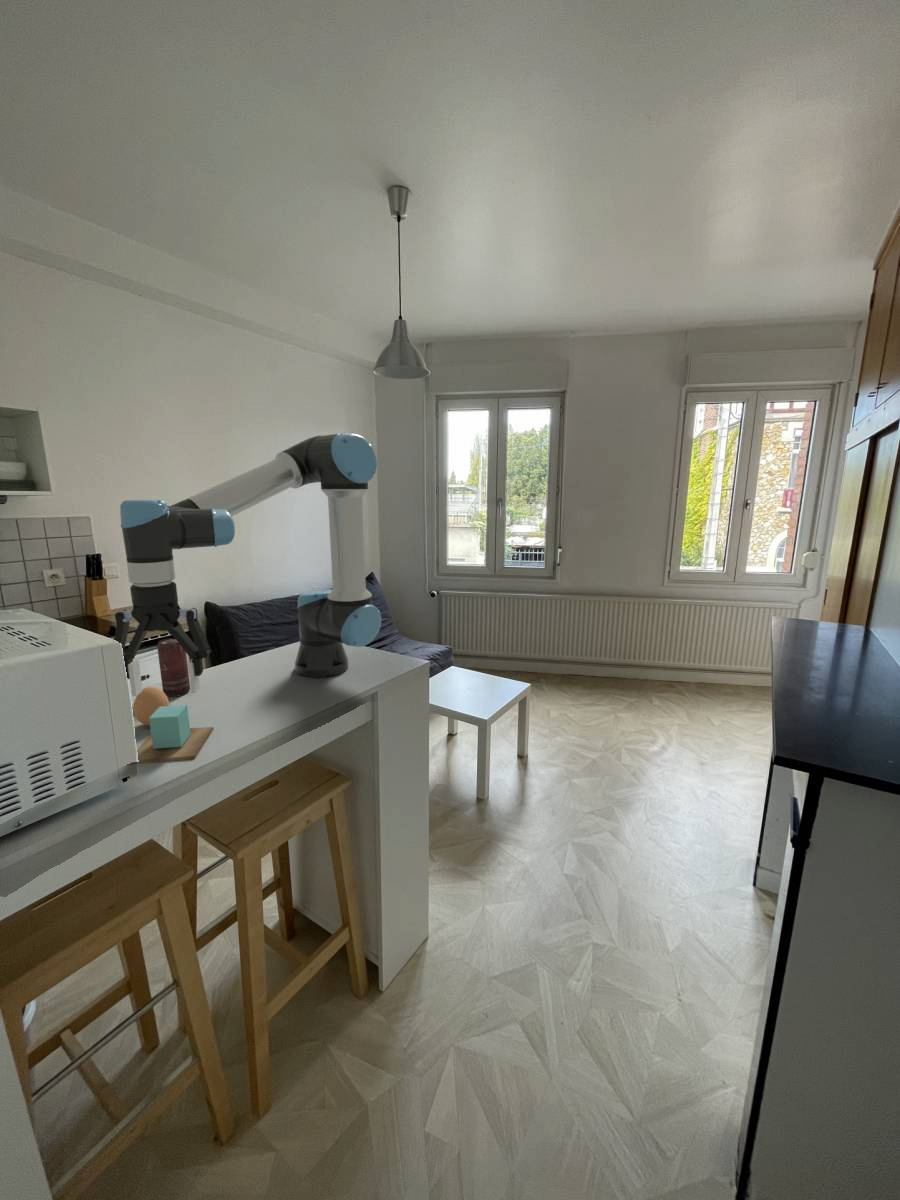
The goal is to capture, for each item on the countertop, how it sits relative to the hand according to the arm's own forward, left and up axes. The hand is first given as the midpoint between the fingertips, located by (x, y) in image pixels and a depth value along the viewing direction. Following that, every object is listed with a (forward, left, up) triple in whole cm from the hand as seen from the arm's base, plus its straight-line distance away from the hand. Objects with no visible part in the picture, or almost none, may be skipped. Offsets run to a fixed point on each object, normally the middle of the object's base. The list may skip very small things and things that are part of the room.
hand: (166, 692), depth 98 cm
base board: (0, 0, -12) cm, 12 cm away
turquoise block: (0, 0, -11) cm, 11 cm away
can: (+9, -28, -12) cm, 32 cm away
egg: (+8, -10, -12) cm, 17 cm away
